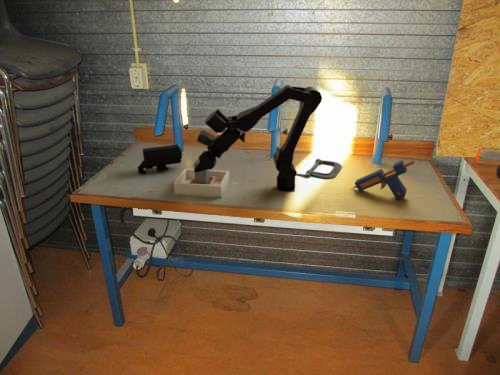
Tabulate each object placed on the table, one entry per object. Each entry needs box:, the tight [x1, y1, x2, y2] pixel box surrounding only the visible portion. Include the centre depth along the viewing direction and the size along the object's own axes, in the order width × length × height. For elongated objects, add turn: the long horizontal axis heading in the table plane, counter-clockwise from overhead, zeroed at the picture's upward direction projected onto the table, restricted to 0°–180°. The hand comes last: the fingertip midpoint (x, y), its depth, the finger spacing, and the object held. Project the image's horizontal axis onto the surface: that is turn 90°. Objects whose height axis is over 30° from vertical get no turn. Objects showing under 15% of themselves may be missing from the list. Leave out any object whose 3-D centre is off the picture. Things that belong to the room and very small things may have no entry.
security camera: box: [137, 144, 183, 175], centre depth 167 cm, size 7×18×10 cm, turn 110°
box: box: [173, 168, 230, 198], centre depth 153 cm, size 18×14×4 cm
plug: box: [193, 158, 210, 184], centre depth 151 cm, size 4×4×10 cm
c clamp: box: [296, 158, 343, 180], centre depth 168 cm, size 20×17×3 cm
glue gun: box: [350, 160, 416, 201], centre depth 146 cm, size 5×25×12 cm
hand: (198, 166), depth 150 cm, fingers open, 9 cm apart
